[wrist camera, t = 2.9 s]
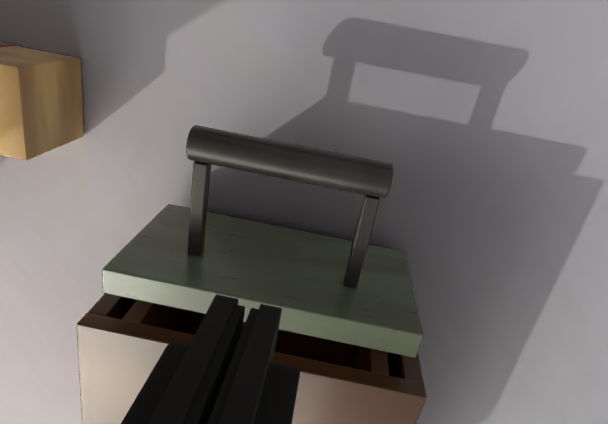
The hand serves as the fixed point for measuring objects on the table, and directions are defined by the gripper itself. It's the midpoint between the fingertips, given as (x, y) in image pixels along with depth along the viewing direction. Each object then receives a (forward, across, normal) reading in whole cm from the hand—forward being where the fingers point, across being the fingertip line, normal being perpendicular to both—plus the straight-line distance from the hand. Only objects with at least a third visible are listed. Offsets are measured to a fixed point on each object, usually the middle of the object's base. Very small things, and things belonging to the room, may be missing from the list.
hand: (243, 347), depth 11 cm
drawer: (+12, 0, +7) cm, 14 cm away
